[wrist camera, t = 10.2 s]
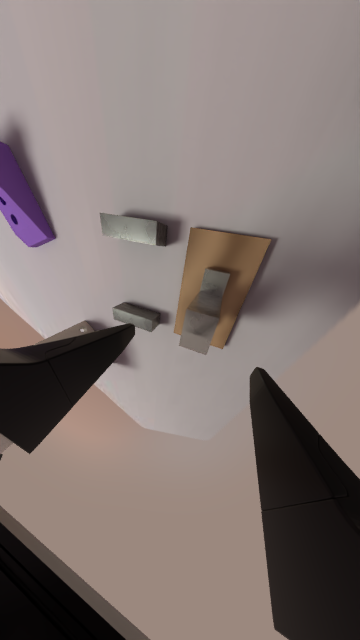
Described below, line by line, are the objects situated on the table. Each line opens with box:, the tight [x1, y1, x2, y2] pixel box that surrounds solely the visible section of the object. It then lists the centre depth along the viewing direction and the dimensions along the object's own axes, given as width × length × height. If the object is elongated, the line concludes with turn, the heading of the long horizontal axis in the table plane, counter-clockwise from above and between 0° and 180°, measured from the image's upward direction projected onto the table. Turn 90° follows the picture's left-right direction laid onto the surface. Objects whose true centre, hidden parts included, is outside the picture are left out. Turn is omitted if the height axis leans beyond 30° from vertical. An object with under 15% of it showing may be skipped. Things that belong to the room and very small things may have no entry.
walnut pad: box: [174, 227, 271, 349], centre depth 19 cm, size 9×16×1 cm, turn 171°
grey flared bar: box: [179, 268, 230, 355], centre depth 15 cm, size 3×8×8 cm, turn 171°
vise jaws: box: [100, 213, 167, 332], centre depth 20 cm, size 8×16×3 cm, turn 171°
